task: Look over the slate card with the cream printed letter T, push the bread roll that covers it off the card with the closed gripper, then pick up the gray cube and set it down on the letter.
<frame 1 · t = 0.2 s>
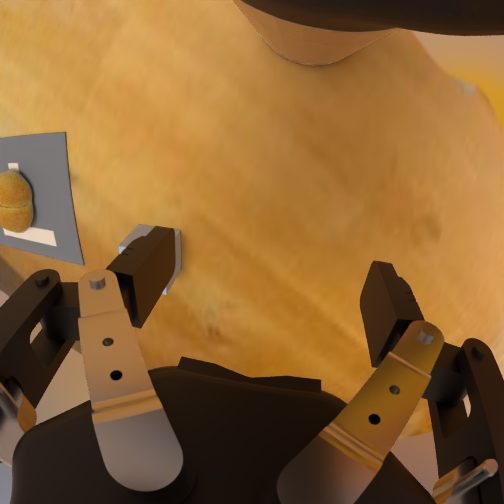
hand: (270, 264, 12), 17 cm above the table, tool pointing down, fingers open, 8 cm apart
gray cube: (160, 246, 34), on the table
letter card: (19, 198, 33), on the table
bread roll: (19, 198, 33), resting on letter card
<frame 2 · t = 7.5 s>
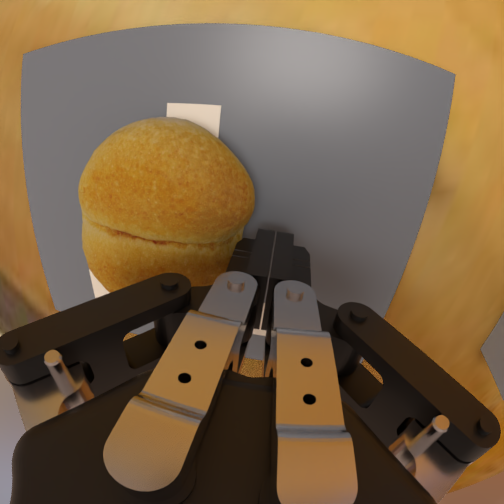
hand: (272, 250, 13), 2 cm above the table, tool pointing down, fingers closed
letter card: (189, 215, 15), on the table
bread roll: (170, 211, 14), resting on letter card, touching gripper
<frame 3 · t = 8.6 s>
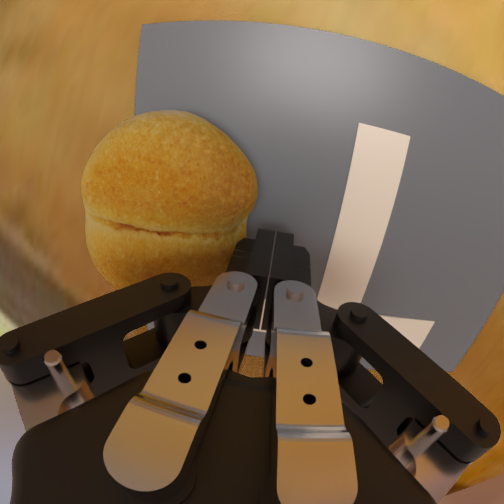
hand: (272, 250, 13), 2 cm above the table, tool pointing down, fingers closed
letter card: (357, 237, 14), on the table
bread roll: (173, 205, 14), resting on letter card, touching gripper
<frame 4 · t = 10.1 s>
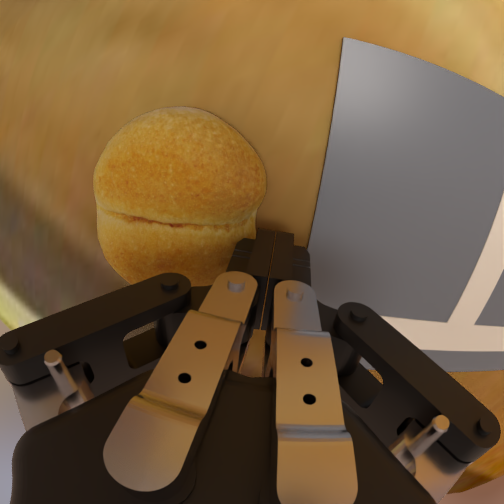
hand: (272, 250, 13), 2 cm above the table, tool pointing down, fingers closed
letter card: (488, 264, 14), on the table
bread roll: (183, 199, 15), on the table, touching gripper
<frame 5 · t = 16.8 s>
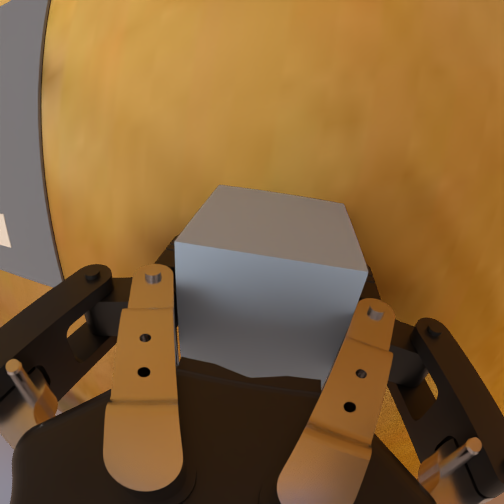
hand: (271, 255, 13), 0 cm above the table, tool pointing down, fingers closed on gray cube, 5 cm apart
gray cube: (273, 248, 13), on the table, touching gripper
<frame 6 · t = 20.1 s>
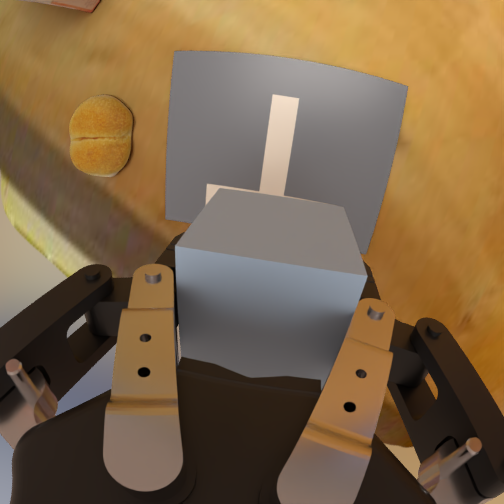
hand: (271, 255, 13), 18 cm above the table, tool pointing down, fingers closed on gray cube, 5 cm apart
gray cube: (273, 251, 13), point 17 cm above the table, touching gripper
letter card: (278, 150, 28), on the table
bread roll: (107, 135, 29), on the table
when the fingers open (3 cm above the table, at t = 23.6 s): gray cube drops 2 cm, resting on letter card.
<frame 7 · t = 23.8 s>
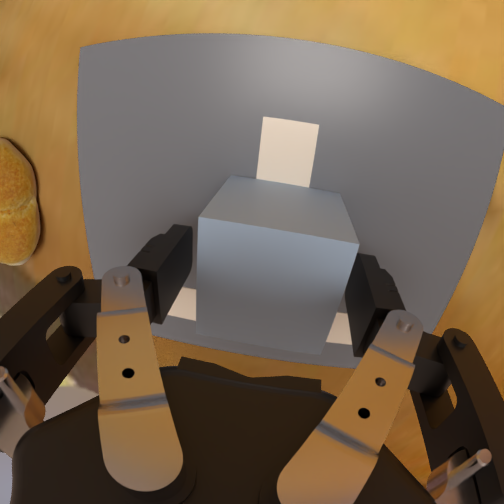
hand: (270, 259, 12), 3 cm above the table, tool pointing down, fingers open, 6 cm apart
gray cube: (277, 233, 15), resting on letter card
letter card: (275, 229, 15), on the table
bread roll: (12, 196, 17), on the table
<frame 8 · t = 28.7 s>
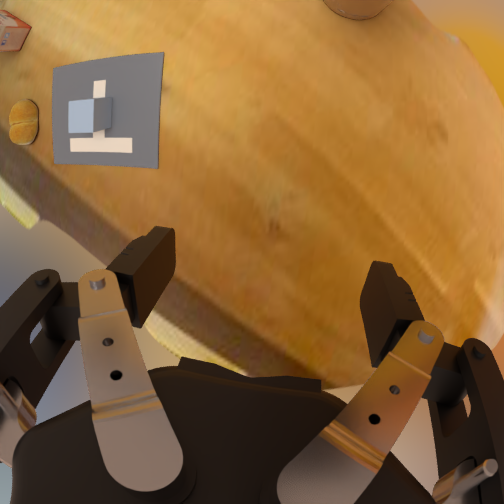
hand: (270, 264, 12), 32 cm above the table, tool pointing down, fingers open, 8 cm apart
cracker box: (12, 28, 32), on the table
gray cube: (99, 112, 40), resting on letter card
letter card: (99, 111, 40), on the table
bread roll: (28, 121, 42), on the table
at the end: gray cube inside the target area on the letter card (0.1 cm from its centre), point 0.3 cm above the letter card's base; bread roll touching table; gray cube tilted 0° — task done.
